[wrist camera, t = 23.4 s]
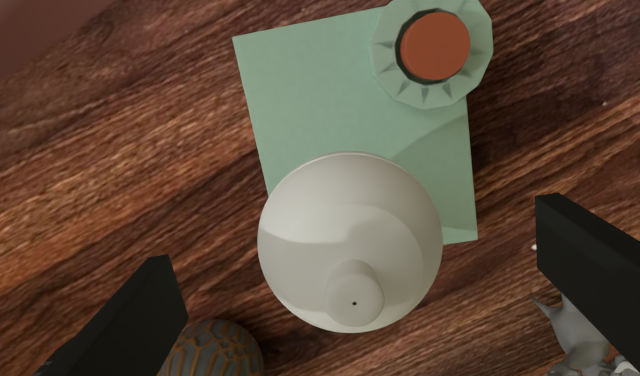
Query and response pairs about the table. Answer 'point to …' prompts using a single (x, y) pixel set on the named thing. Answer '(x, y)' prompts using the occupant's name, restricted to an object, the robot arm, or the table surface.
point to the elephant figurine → (582, 345)
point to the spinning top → (350, 241)
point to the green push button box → (367, 99)
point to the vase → (214, 351)
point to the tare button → (435, 46)
